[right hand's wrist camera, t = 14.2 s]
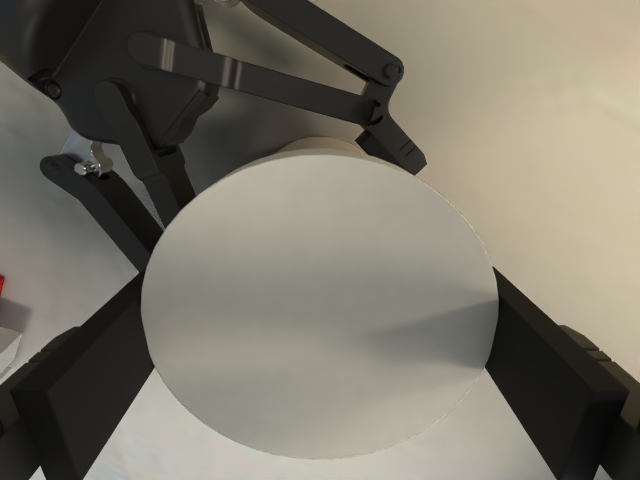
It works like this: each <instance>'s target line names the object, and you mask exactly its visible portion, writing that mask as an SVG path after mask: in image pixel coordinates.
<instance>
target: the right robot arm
mask: <svg viewBox="0 0 640 480" xmlns="http://www.w3.org/2000/svg"><path fill="white" fill-rule="evenodd" d="M146 268H147V267H146ZM146 268H144V269H143V270H142V271H141V272H140V273H139V274H138V275H137V276H136V277H134V278H133V279H132V280H131V281H130V282H129V283H128V284H127V285H126V286H125V287H123V288H122V289H121V290H120V291H119V292H118V293H117V294H116V295H115V296H114V297H112V298H111V299H110V300H109V301H108V302H107V303H106V304H105V305H104V306H102V307H101V308H100V309H99V310H98V311H97V312H96V313H95V314H94V315H93V316H91V317H90V318H89V319H88V320H87V321H86V322H85V323H84V324H83V325H82V326H80V327H73V328H71V329H69V330H68V331H66V332H64V333H62V334H60V335H59V336H57V337H55V338H54V339H53V340H52V341H51V342H49V343H48V344H47V345H46V346H45V347H44V348H42V349H41V352H38V353H37V354H35V355H34V356H33V357H32V358H31V359H30V360H29V362H28V363H25V364H24V365H23V366H21V367H20V368H19V369H18V370H17V371H16V372H15V373H13V374H12V375H11V376H10V377H9V378H8V379H6V380H5V381H4V382H3V383H2V384H1V385H0V480H29V479H30V478H31V476H32V475H33V474H34V473H35V471H36V470H37V469H38V467H39V466H41V468H42V471H43V473H44V476H45V478H46V480H83V478H84V477H85V475H86V474H87V472H88V471H89V469H90V467H91V466H92V464H93V463H94V461H95V460H96V458H97V457H98V455H99V453H100V452H101V450H102V449H103V447H104V446H105V444H106V442H107V441H108V439H109V438H110V436H111V435H112V433H113V432H114V430H115V428H116V427H117V425H118V424H119V422H120V421H121V419H122V418H123V416H124V414H125V413H126V411H127V410H128V408H129V407H130V405H131V403H132V402H133V400H134V399H135V397H136V396H137V394H138V393H139V391H140V389H141V388H142V386H143V385H144V383H145V382H146V380H147V378H148V377H149V375H150V374H151V372H152V371H153V369H154V368H155V366H154V364H153V361H152V359H151V356H150V353H149V349H148V345H147V340H146V335H145V331H144V326H143V322H142V316H141V294H142V285H143V281H144V276H145V272H146ZM492 268H493V271H494V274H495V278H496V283H497V291H498V299H499V312H498V320H497V325H496V330H495V334H494V339H493V343H492V348H491V352H490V356H489V358H488V361H487V363H486V365H485V368H486V370H487V371H488V373H489V374H490V376H491V377H492V379H493V381H494V382H495V384H496V385H497V387H498V388H499V390H500V392H501V393H502V395H503V396H504V398H505V399H506V401H507V402H508V404H509V406H510V407H511V409H512V410H513V412H514V413H515V415H516V416H517V418H518V420H519V421H520V423H521V424H522V426H523V427H524V429H525V431H526V432H527V434H528V435H529V437H530V438H531V440H532V441H533V443H534V445H535V446H536V448H537V449H538V451H539V452H540V454H541V456H542V457H543V459H544V460H545V462H546V463H547V465H548V466H549V468H550V470H551V471H552V473H553V474H554V476H555V477H556V479H557V480H593V479H594V477H595V474H596V472H597V469H598V467H599V465H601V466H602V467H603V469H604V470H605V471H606V472H607V474H608V475H609V476H610V477H611V479H612V480H640V383H639V382H638V381H637V380H635V379H634V378H633V377H632V376H631V375H630V374H628V373H627V372H626V371H625V370H624V369H623V368H621V367H620V366H619V365H618V364H617V363H615V362H612V361H611V358H610V357H608V356H607V355H606V354H605V353H604V352H603V351H599V348H598V347H597V346H596V345H594V344H593V343H592V342H591V341H590V340H589V339H587V338H586V337H585V336H584V335H582V334H580V333H578V332H576V331H575V330H573V329H571V328H569V327H567V326H565V325H557V324H556V323H555V322H554V321H553V320H551V319H550V318H549V317H548V316H547V315H546V314H545V313H544V312H543V311H542V310H540V309H539V308H538V307H537V306H536V305H535V304H534V303H533V302H532V301H531V300H529V299H528V298H527V297H526V296H525V295H524V294H523V293H522V292H521V291H519V290H518V289H517V288H516V287H515V286H514V285H513V284H512V283H511V282H510V281H508V280H507V279H506V278H505V277H504V276H503V275H502V274H501V273H500V272H499V271H497V270H496V269H495V268H494V267H493V266H492Z"/></svg>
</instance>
